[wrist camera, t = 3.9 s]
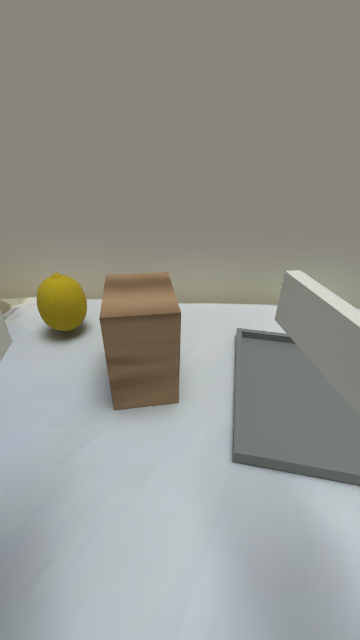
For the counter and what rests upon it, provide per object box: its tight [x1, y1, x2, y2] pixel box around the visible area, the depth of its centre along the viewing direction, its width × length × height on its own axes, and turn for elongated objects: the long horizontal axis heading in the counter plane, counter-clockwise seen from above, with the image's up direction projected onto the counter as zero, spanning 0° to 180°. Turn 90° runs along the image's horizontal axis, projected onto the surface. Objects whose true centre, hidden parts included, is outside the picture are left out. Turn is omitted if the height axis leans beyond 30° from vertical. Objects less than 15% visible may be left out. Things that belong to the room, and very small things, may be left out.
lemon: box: [37, 273, 87, 332], centre depth 34 cm, size 6×6×8 cm
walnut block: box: [100, 272, 181, 410], centre depth 26 cm, size 8×6×10 cm
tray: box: [233, 328, 360, 485], centre depth 27 cm, size 17×17×1 cm
